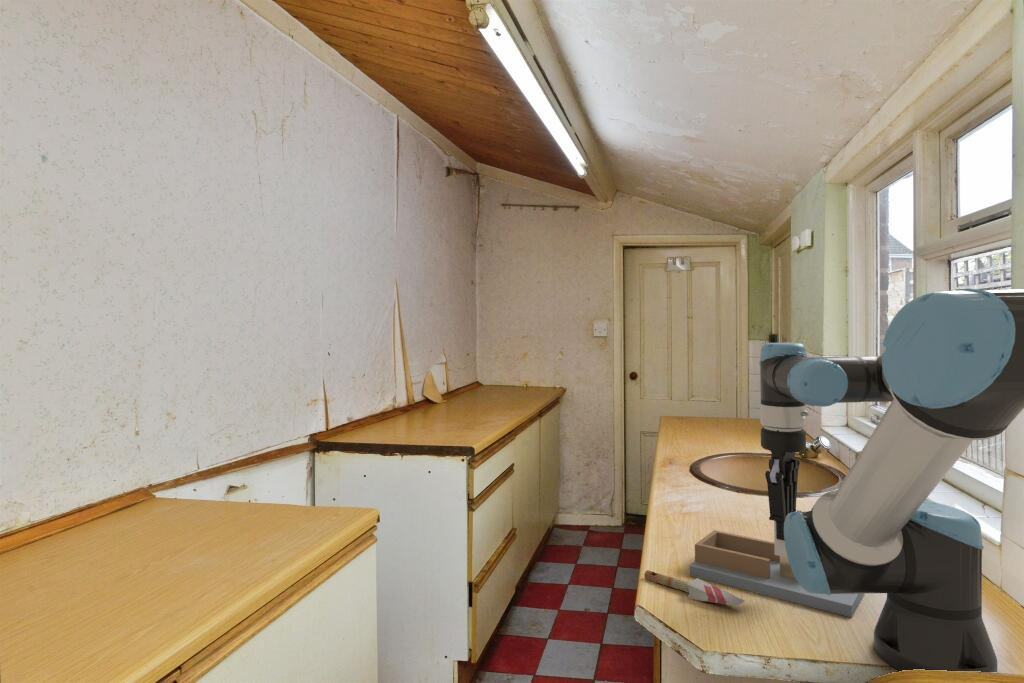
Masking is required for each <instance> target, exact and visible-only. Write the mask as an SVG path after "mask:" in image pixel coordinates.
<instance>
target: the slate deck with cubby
mask: <svg viewBox="0 0 1024 683" xmlns="http://www.w3.org/2000/svg"><path fill="white" fill-rule="evenodd" d="M689 576H691V577H696V578H698V579H701V580H707V581H709V582H714V583H717V584H722V585H725V586H729V587H730V586H731V587H733V588H737V589H741V590H746V591H748V592H753V593H757V594H761V595H764V596H768V597H771V598H775V599H778V600H779V599H780V600H784V601H788V602H790V603H795V604H798V605H803V606H807V607H809V608H814V609H818V610H822V611H825V612H830V613H832V614H837V615H841V616H846V617H848V618H853V616H854V615H855V612H856V611H857V609H858V607H859V605H860V604H861V602H862V600H863V598H864V596H865V594H831V595H826V594H816V593H810V592H807V591H806V590H804V589H803V588H802V587H801V585H800V584H799V583H798V581H797V580H796V579H793V578H789V577H784V576H780V556H778V555H775V553H774V541H769V540H765V539H759V538H756V537H755V538H754V537H751V536H750V537H749V536H744V535H739V534H735V533H732V532H731V533H729V532H726V531H725V532H724V531H720V530H716V529H715V530H713V531H711V532H710V533H709V534H707V535H705V536H704V537H703V538H702V539H700V540H699V541H698V542H696V543H694V561H693V562H692V563H691V564H690V565H689Z"/></svg>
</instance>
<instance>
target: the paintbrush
mask: <svg viewBox="0 0 1024 683" xmlns="http://www.w3.org/2000/svg"><path fill="white" fill-rule="evenodd" d="M643 576H644V579H645V580H647V581H650V582H654V583H656V584H661V585H663V586H668V587H670V588H674V589H676V590H680V591H683V592H686V593H688V595H687V599H690V600H695V601H700V602H701V601H702V602H707V603H715V604H721V605H728V606H736V607H739V606H740V605H742V604H743V603H745V602H746V600H744V599H742V598H741V597H738V596H736V595H734V594H732V593H729V592H727V591H725V590H723V589H721V588H720V587H717V586H715V585H712V584H711V583H709V582H706V581H705V580H704V579H701V578H698V577H696V578H695V579H693V580H691V581H686V580H683V579H679V578H676V577H671V576H669V575H665V574H662V573H659V572H658V573H657V572H655V571H652V570H645V571H644V574H643Z"/></svg>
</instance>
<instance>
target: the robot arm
mask: <svg viewBox="0 0 1024 683" xmlns="http://www.w3.org/2000/svg"><path fill="white" fill-rule="evenodd" d="M882 346H883V347H885V351H884V352H883V353H882V354H881V355H873V356H872V355H871V356H824V357H823V356H821V357H820V356H818V357H811V356H807V351H806V350H807V349H806V346H805V345H804V344H803V343H800V342H767V343H764V344H763V345H762V346H761V348H760V356H759V358H760V359H759V363H758V364H759V368H760V369H759V371H760V372H759V373H760V375H759V377H760V384H759V385H760V409H759V410H760V415H759V416H760V418H759V420H760V421H759V422H760V425H761V426H763V427H761V428H760V446H761V448H762V449H764V450H766V451H769V452H770V453H771V455H770V458H769V459H768V469H769V470H766V471H765V473H764V476H765V479H766V483H767V484H766V486H767V494H768V505H769V517H768V519H769V520H770V521H774V523H773V524H774V530H773V531H774V533H773V534H774V537H773V540H774V541H773V542H774V553H775V555H778V556H782V557H787V558H788V560H789V563H790V566H791V569H792V572H793V574H794V576H795V578H796V580H797V581H798V583H799V584H800V585H801V587H802V588H803V589H804V590H806V591H807V592H810V593H816V594H826V595H831V594H864V595H865V594H886V600H885V602H884V604H883V606H882V610H881V612H880V615H879V617H878V620H877V622H876V624H875V626H874V630H873V648H874V651H875V653H876V654H877V655H878V657H880V658H881V659H882V660H883V661H884V662H886V664H888V665H889V666H890V667H893V668H894V669H896V670H898V671H900V672H902V670H913V669H925V670H947V671H981V672H997V673H998V657H997V655H996V653H995V649H994V647H993V643H992V642H991V639H990V637H989V634H988V631H987V628H986V626H985V623H984V620H983V613H982V610H983V606H982V604H983V598H982V597H983V595H982V594H983V590H982V589H983V584H982V583H983V578H982V577H983V572H982V571H983V570H982V568H983V562H982V561H983V550H984V549H985V548H984V545H983V539H982V538H983V537H982V527H981V524H980V522H979V520H977V519H976V518H975V517H974V516H973V515H972V514H970V513H968V512H966V511H964V510H961V509H959V508H956V507H953V506H951V505H947V504H944V503H940V502H935V501H931V500H927V499H928V497H929V496H930V495H931V494H932V493H933V491H934V490H935V488H936V487H938V485H939V484H940V483H941V481H942V480H943V479H944V477H945V476H946V475H947V474H948V472H949V471H950V470H951V469H952V467H953V466H954V465H955V464H956V463H957V461H958V460H959V459H960V458H961V456H963V454H965V452H966V451H967V449H968V448H969V447H970V445H971V444H972V443H973V442H974V441H983V440H984V441H985V440H988V439H992V438H994V437H997V436H999V435H1001V434H1002V433H1003V432H1004V431H1005V430H1006V429H1008V427H1009V426H1010V424H1011V423H1012V422H1013V421H1014V420H1015V419H1016V418H1017V417H1018V416H1019V414H1020V413H1022V411H1023V410H1024V288H1019V289H1000V290H999V289H996V290H994V289H993V290H986V289H981V288H972V287H971V288H970V287H969V288H968V287H965V288H955V289H951V290H948V291H947V290H946V291H934V292H933V291H932V292H929V293H925V294H922V295H920V296H918V297H915V298H913V299H912V300H910V301H909V302H907V303H906V304H904V305H903V306H902V307H901V308H900V309H899V310H898V312H897V313H895V315H894V317H892V319H891V321H890V323H889V325H888V327H887V330H886V331H885V335H884V337H883V342H882ZM864 402H865V403H875V402H876V403H877V402H878V403H882V402H883V403H885V402H886V403H889V402H890V403H889V405H888V407H887V409H886V410H885V411H884V414H883V415H882V417H881V418H880V420H879V422H878V423H877V425H876V426H875V428H874V430H873V432H872V433H871V435H870V436H869V438H868V440H867V441H866V443H865V444H864V446H863V447H862V450H860V451H861V453H860V454H859V456H858V457H857V459H856V461H855V460H854V462H853V464H852V466H851V467H850V469H849V470H848V472H847V474H846V475H845V477H844V478H843V480H842V482H841V483H840V485H839V487H838V489H834V490H830V491H828V492H825V493H824V494H822V495H821V496H819V498H818V499H817V500H816V501H815V503H814V505H813V506H812V508H811V510H810V511H809V510H808V511H802V510H799V509H798V510H797V497H798V495H797V494H798V483H799V482H798V480H799V478H798V477H799V469H800V464H801V462H800V459H797V458H796V454H797V453H801V452H803V451H805V450H806V448H807V432H806V430H805V429H804V427H806V424H807V423H806V422H807V421H806V417H809V416H810V412H809V411H807V410H806V405H807V406H812V407H821V408H822V407H823V408H825V407H830V406H833V405H835V404H836V403H837V404H838V403H839V404H840V403H843V404H844V403H845V404H846V403H864Z"/></svg>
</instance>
